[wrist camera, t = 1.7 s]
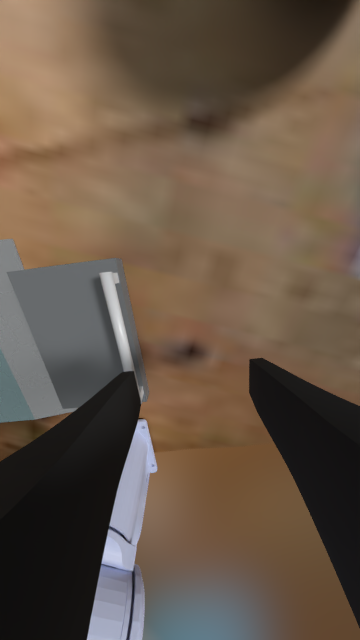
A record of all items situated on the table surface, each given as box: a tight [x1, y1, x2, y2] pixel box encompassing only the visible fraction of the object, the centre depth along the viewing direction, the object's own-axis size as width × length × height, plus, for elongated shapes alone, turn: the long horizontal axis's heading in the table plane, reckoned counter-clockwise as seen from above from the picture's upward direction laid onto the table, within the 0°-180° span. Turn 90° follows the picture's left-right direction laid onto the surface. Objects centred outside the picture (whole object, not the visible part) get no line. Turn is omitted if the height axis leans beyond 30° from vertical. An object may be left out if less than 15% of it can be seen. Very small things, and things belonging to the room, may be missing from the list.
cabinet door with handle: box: [7, 258, 149, 409], centre depth 16 cm, size 14×9×4 cm, turn 7°
